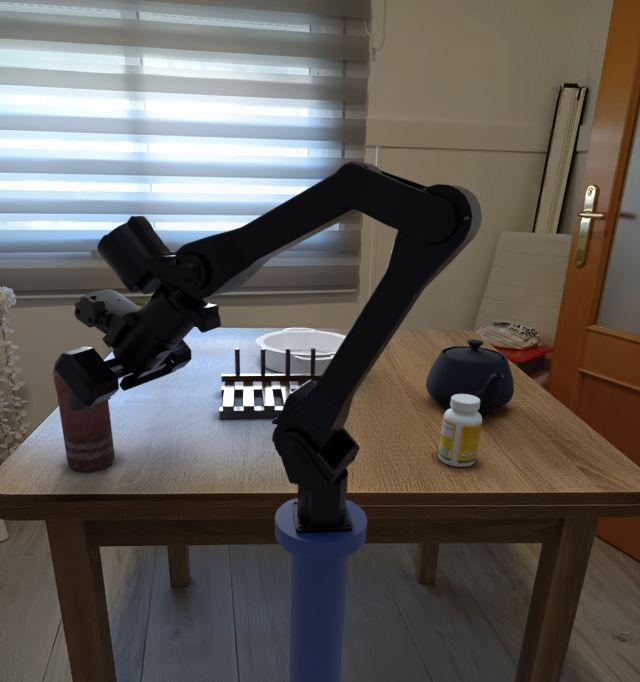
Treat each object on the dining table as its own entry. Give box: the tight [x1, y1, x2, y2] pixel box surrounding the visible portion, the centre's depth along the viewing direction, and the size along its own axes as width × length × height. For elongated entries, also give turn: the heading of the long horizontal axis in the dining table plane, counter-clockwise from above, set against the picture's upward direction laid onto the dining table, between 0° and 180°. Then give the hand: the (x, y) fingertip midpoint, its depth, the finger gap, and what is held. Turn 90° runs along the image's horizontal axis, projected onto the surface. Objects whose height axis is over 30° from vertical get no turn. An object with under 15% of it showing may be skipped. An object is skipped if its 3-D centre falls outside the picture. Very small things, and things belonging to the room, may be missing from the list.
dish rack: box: [218, 347, 323, 420], centre depth 101 cm, size 14×20×9 cm
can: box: [52, 368, 116, 473], centre depth 77 cm, size 6×6×14 cm
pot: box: [255, 327, 347, 374], centre depth 128 cm, size 29×22×5 cm
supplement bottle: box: [438, 394, 483, 468], centre depth 82 cm, size 5×5×10 cm
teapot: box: [425, 338, 515, 415], centre depth 103 cm, size 25×16×12 cm, turn 5°
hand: (97, 397), depth 75 cm, fingers open, 9 cm apart
